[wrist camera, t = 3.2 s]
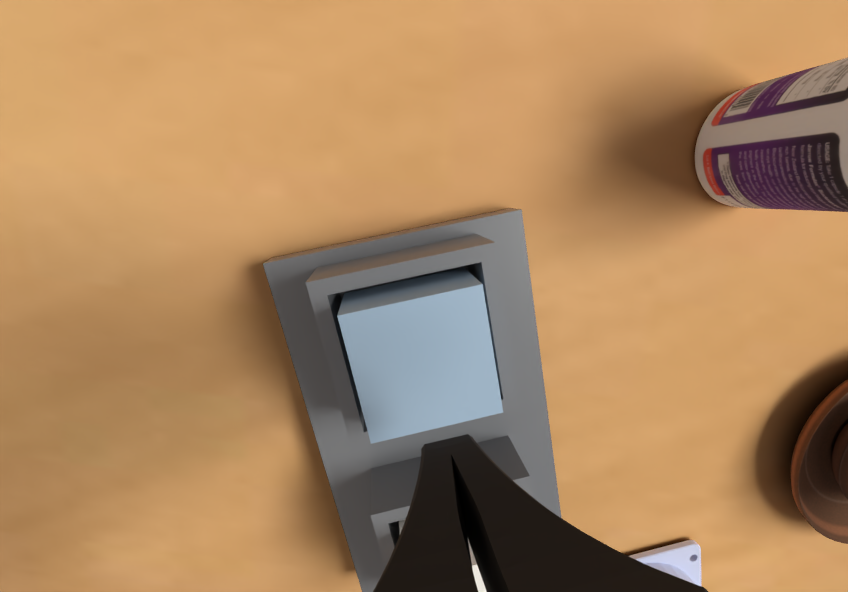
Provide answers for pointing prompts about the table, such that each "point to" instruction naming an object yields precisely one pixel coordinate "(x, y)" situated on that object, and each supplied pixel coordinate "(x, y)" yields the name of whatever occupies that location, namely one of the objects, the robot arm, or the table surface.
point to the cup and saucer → (824, 467)
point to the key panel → (336, 391)
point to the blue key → (421, 353)
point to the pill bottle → (780, 143)
